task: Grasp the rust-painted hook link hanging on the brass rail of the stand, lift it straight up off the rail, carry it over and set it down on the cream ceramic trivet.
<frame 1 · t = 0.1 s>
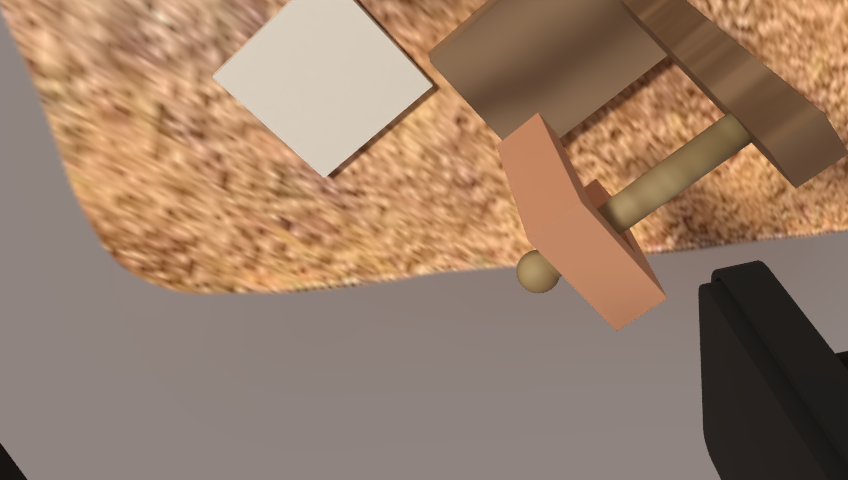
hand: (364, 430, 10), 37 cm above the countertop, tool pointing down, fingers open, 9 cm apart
stand: (555, 40, 46), on the countertop
link: (555, 172, 37), point 12 cm above the countertop, touching stand
trivet: (324, 77, 46), on the countertop
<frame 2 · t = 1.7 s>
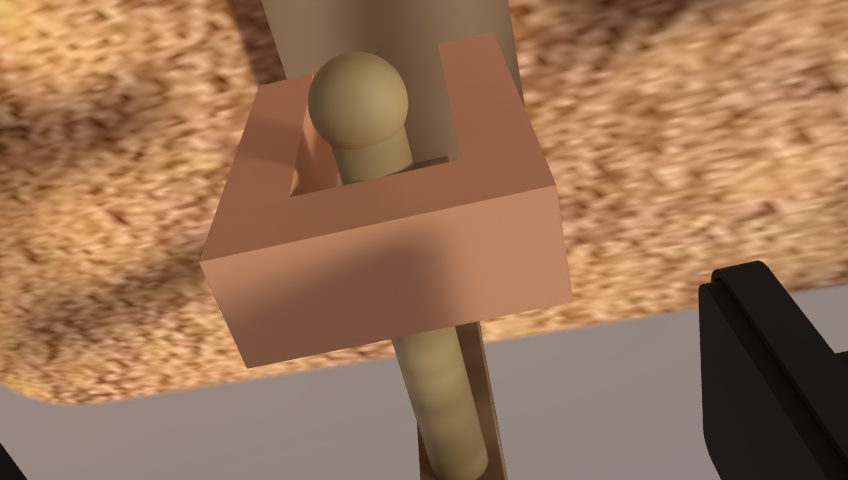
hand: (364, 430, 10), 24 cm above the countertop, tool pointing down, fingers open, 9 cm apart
stand: (401, 59, 32), on the countertop
link: (386, 103, 20), point 12 cm above the countertop, touching stand
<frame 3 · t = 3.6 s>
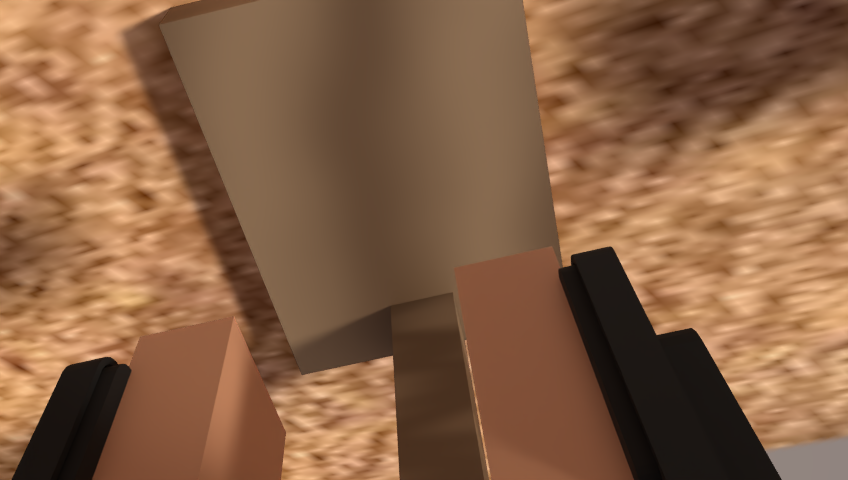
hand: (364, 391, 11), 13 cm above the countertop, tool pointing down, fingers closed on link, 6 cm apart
stand: (389, 166, 24), on the countertop
link: (364, 355, 12), point 12 cm above the countertop, touching gripper, stand
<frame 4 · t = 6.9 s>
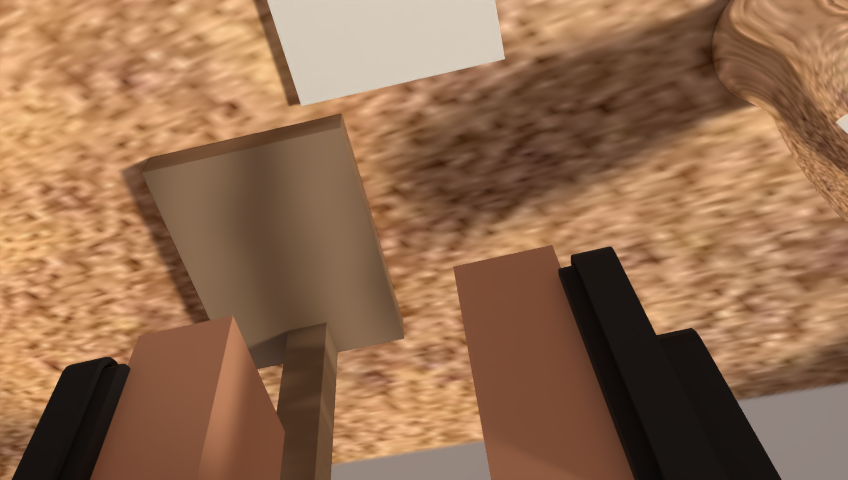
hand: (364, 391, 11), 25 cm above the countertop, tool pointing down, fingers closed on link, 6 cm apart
stand: (285, 245, 39), on the countertop
link: (363, 354, 12), point 24 cm above the countertop, touching gripper
beer glass: (777, 33, 35), on the countertop
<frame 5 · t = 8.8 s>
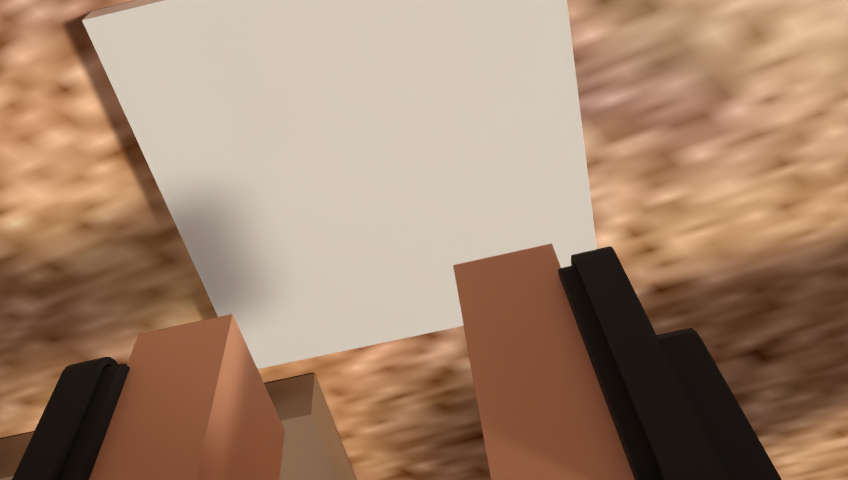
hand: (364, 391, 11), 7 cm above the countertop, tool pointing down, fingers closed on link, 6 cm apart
link: (363, 352, 12), point 7 cm above the countertop, touching gripper
trivet: (374, 162, 17), on the countertop
when the fingers open (2 cm above the countertop, at t = 10.4 s): link stays where it is, resting on trivet.
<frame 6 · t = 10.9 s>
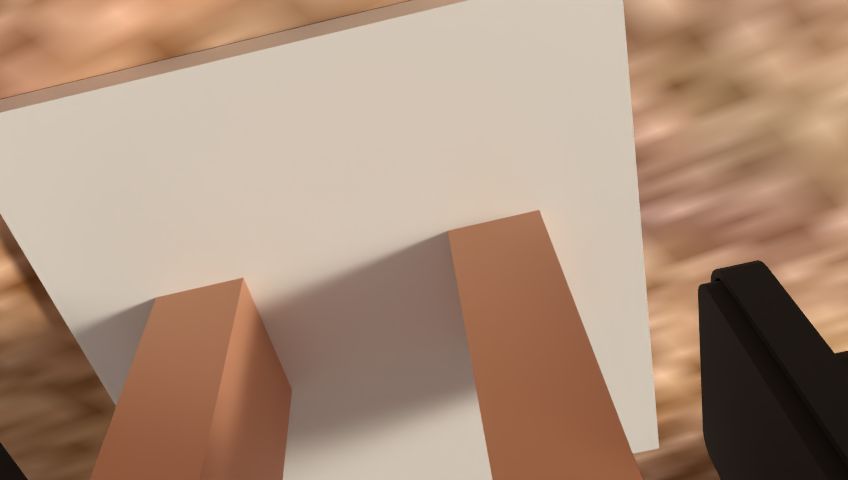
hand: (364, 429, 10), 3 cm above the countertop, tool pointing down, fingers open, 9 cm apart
link: (365, 314, 13), point 1 cm above the countertop, touching trivet
trivet: (363, 292, 13), on the countertop
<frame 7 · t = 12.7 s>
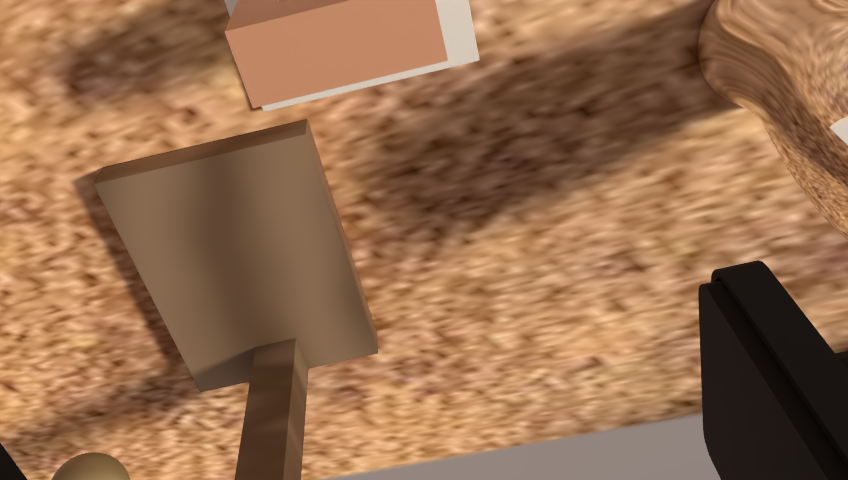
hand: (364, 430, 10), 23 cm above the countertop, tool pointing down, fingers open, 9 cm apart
stand: (251, 257, 37), on the countertop
beer glass: (766, 31, 33), on the countertop
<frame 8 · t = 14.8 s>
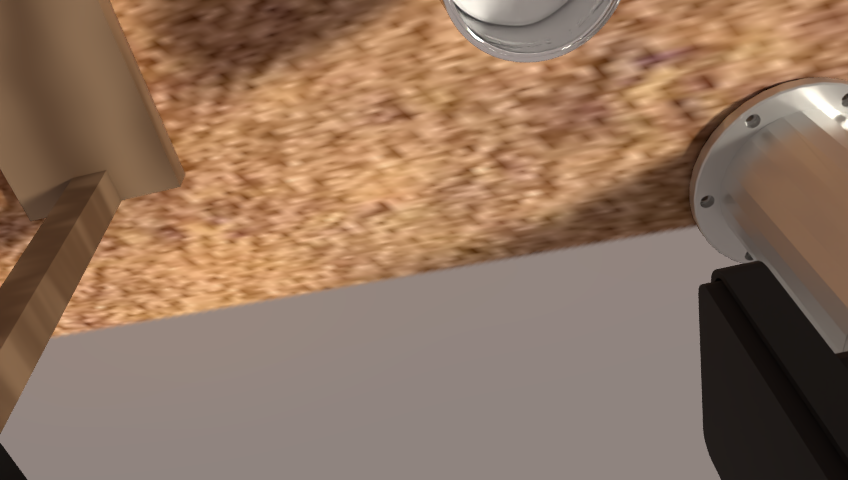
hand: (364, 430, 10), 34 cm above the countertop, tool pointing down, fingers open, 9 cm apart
stand: (65, 98, 43), on the countertop
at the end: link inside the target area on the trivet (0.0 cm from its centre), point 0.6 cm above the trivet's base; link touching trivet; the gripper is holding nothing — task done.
